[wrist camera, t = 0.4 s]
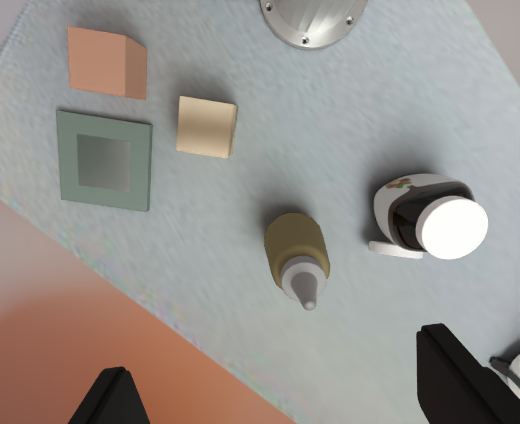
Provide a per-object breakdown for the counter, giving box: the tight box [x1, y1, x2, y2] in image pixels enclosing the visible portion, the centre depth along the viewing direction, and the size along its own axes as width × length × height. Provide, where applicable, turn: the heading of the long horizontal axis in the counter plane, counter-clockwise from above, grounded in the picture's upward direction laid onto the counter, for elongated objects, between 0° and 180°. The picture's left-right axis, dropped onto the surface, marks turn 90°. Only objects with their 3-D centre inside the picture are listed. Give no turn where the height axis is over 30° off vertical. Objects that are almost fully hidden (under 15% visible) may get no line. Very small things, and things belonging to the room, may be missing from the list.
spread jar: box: [369, 174, 488, 259], centre depth 36 cm, size 12×11×12 cm
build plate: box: [56, 111, 152, 212], centre depth 40 cm, size 12×12×1 cm
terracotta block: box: [67, 26, 147, 100], centre depth 34 cm, size 6×6×6 cm
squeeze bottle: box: [264, 213, 330, 310], centre depth 34 cm, size 8×8×18 cm
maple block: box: [176, 96, 238, 158], centre depth 36 cm, size 6×6×6 cm
